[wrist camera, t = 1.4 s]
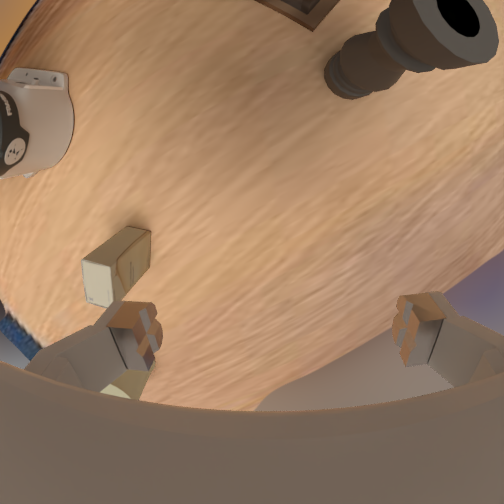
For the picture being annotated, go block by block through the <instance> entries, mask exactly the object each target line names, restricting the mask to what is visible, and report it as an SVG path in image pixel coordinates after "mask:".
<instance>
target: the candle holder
mask: <svg viewBox="0 0 504 504" xmlns="http://www.w3.org/2000/svg"><path fill="white" fill-rule="evenodd" d="M498 43H499V39H498V32H497V26H496V23H495V21H494V19H493V17H492V15H491V12H490V10H489V8H488V7H487V5H486V4H485V3H484V1H483V0H391V3H390V5H389V8H387V9H386V10H384V11H382V12H381V13H380V15H379V17H378V20H377V22H376V31H372V32H368V33H363V34H359V35H354V36H353V37H352V38H350V39H349V40H347V41H346V42H345V43H344V45H343V47H342V49H341V50H340V51H339V52H338V53H336V54H335V55H334V56H333V57H332V58H331V59H330V60H329V61H328V63H327V65H326V67H325V75H324V78H325V80H326V83H327V85H328V87H329V88H330V89H331V90H332V92H333V93H334V94H336V95H338V96H340V97H342V98H345V99H352V100H353V99H357V98H361V97H364V96H367V95H369V94H370V93H372V92H373V91H374V92H377V91H381V90H386V89H389V88H390V87H391V86H392V85H394V84H395V83H396V82H397V81H398V79H399V78H400V77H401V75H402V74H403V73H404V71H405V70H409V71H413V72H417V73H421V72H428V71H432V70H433V69H435V68H439V69H442V70H446V69H456V68H461V67H466V66H471V65H476V64H481V63H487V62H488V61H489V60H490V59H491V58H493V57H494V56H495V55H496V52H497V48H498Z"/></svg>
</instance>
